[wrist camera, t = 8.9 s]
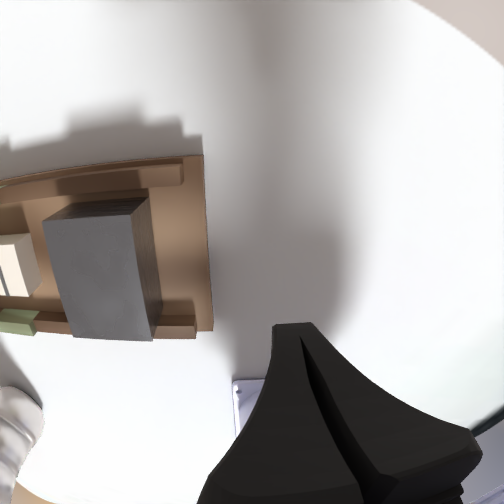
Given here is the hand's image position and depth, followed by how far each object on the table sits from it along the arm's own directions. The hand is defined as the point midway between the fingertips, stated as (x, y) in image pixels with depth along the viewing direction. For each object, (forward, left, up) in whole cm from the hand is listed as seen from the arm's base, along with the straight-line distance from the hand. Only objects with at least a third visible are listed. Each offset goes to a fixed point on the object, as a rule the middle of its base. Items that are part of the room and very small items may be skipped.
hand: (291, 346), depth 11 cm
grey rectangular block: (0, +9, -8) cm, 12 cm away
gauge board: (0, +14, -9) cm, 16 cm away
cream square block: (0, +17, -8) cm, 19 cm away
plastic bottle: (-17, +26, -10) cm, 32 cm away
